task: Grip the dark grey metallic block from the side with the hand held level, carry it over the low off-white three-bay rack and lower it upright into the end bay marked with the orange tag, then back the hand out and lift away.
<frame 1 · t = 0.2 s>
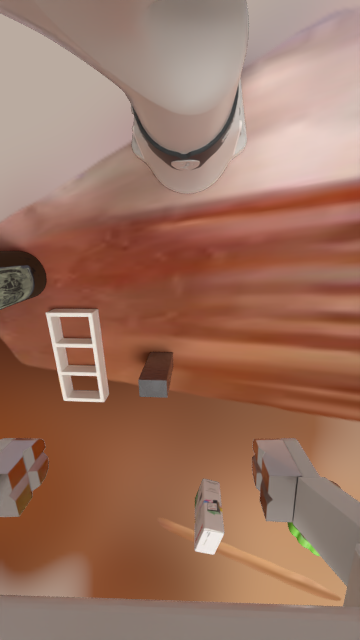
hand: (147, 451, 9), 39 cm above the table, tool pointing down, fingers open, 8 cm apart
rack: (83, 353, 52), on the table
ink box: (206, 489, 63), on the table
olive oil: (25, 275, 48), on the table
dark grey metallic block: (161, 359, 51), on the table
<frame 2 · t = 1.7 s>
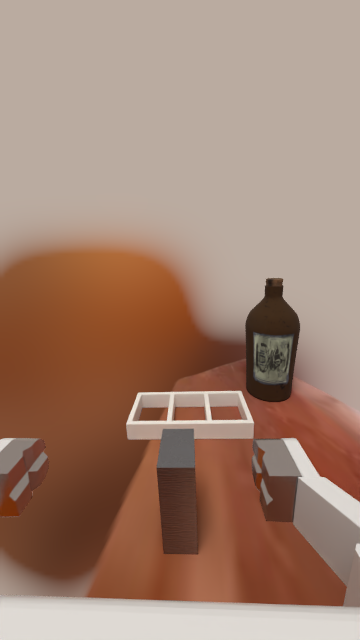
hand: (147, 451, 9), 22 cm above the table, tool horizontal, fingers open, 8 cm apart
rack: (189, 419, 43), on the table
olive oil: (267, 390, 52), on the table
dark grey metallic block: (181, 526, 26), on the table
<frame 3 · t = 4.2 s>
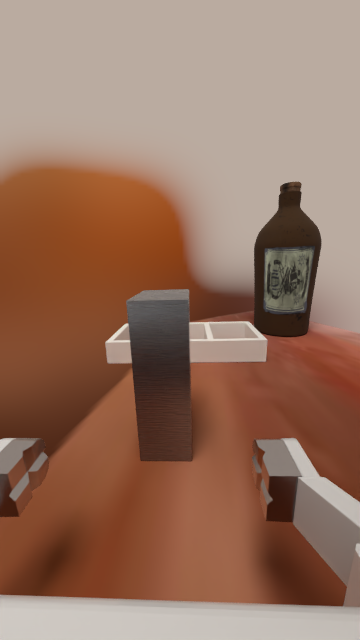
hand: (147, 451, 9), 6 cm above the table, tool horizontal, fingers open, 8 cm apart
rack: (186, 349, 35), on the table
olive oil: (279, 330, 44), on the table
dark grey metallic block: (169, 434, 18), on the table
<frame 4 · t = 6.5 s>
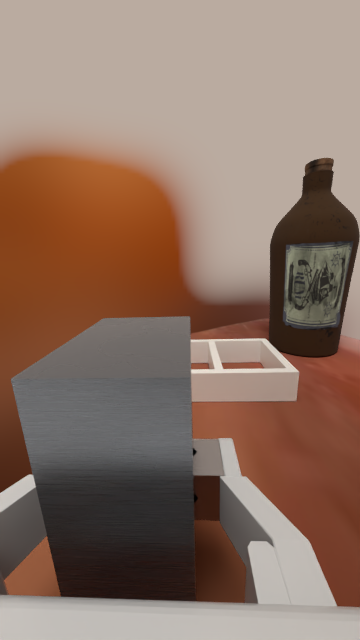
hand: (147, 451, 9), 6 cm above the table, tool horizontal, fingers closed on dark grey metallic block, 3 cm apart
rack: (185, 377, 27), on the table
olive oil: (300, 346, 36), on the table
dark grey metallic block: (153, 590, 9), on the table, touching gripper
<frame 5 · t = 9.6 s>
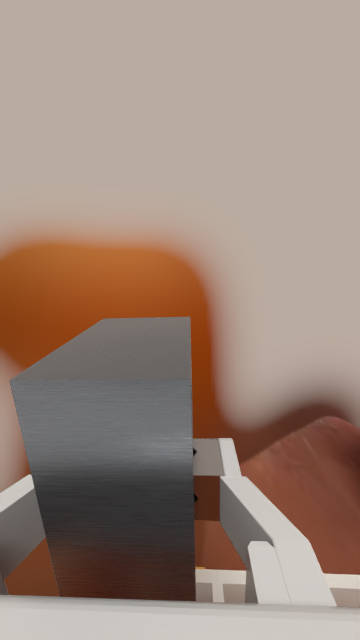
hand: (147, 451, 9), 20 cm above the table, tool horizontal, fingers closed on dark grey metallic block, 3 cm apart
dark grey metallic block: (153, 592, 9), point 14 cm above the table, touching gripper
when the fingers open (7 cm above the table, at t = 13.1 s): dark grey metallic block drops 1 cm, resting in rack.
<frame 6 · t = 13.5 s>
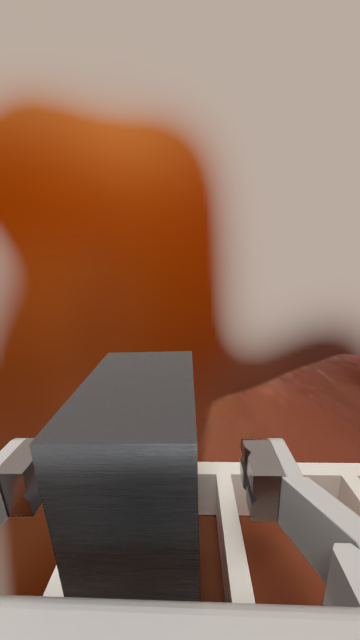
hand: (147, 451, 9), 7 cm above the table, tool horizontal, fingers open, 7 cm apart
rack: (318, 620, 9), on the table
dark grey metallic block: (157, 614, 10), resting in rack
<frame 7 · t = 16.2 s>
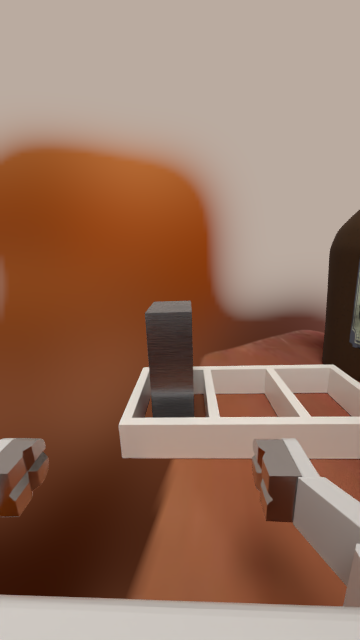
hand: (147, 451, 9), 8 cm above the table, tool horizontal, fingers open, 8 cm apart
rack: (245, 416, 22), on the table
dark grey metallic block: (175, 417, 22), resting in rack
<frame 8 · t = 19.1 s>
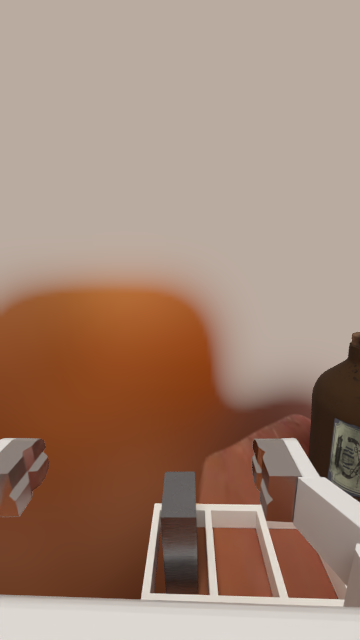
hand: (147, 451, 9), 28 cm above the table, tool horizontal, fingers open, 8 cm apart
rack: (239, 565, 27), on the table
olive oil: (340, 489, 36), on the table
dark grey metallic block: (182, 564, 27), resting in rack
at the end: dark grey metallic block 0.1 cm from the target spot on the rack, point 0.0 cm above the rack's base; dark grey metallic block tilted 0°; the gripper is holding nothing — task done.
